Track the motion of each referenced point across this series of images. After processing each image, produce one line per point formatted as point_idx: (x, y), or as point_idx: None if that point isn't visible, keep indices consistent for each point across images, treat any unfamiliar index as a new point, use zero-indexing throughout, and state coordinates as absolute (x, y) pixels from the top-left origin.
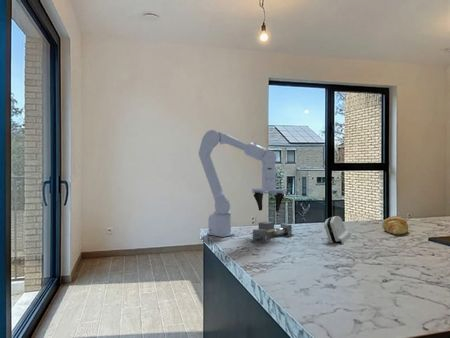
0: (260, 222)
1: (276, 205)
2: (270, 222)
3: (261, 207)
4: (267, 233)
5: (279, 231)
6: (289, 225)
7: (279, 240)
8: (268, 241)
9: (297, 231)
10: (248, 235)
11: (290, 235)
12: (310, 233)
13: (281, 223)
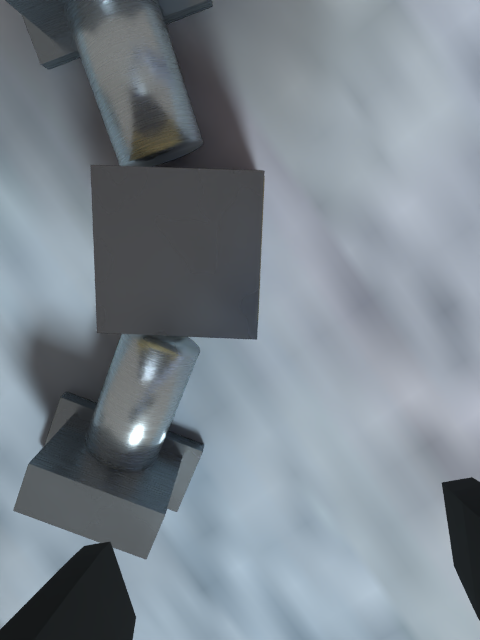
0: (249, 205)
1: (22, 632)
2: (132, 296)
3: (477, 582)
4: (119, 160)
5: (111, 367)
6: (23, 483)
7: (8, 187)
8: (36, 42)
9: (136, 623)
10: (406, 193)
11: (54, 423)
12: (3, 609)
13: (159, 524)
